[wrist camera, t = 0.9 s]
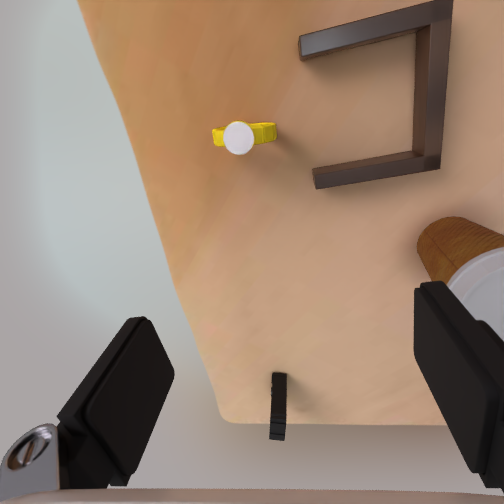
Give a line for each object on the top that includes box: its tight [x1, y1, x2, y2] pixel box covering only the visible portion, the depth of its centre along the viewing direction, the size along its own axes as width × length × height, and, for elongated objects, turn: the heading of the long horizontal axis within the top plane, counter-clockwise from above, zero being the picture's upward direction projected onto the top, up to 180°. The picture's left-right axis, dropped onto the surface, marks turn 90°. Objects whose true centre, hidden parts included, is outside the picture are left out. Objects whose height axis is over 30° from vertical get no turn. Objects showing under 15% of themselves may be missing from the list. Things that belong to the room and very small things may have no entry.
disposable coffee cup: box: [417, 217, 504, 341], centre depth 29 cm, size 10×10×12 cm
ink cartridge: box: [269, 373, 287, 441], centre depth 45 cm, size 5×2×8 cm, turn 179°
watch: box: [212, 120, 277, 155], centre depth 28 cm, size 6×3×6 cm, turn 95°
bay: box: [298, 0, 453, 189], centre depth 27 cm, size 13×12×3 cm
